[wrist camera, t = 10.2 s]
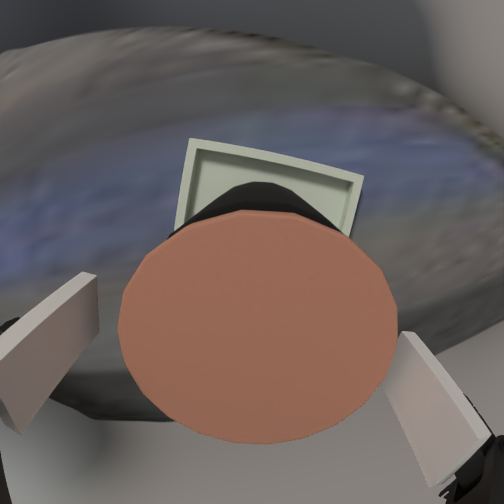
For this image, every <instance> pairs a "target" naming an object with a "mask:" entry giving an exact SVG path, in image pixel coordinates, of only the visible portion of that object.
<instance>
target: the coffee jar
mask: <svg viewBox="0 0 504 504" xmlns="http://www.w3.org/2000/svg"><path fill="white" fill-rule="evenodd" d="M118 334H119V339H120V344H121V349H122V353H123V358H124V362H125V365H126V366H127V368H128V370H129V372H130V373H131V375H132V377H133V378H134V380H135V382H136V383H137V385H138V386H139V388H140V390H141V391H142V393H143V394H144V395H145V396H146V397H147V398H148V399H149V400H150V401H152V402H153V403H154V404H155V405H156V406H157V407H158V408H159V409H160V410H161V411H162V412H164V413H165V414H166V415H167V416H168V417H170V418H172V419H173V420H175V421H177V422H179V423H181V424H183V425H184V426H187V427H188V428H190V429H192V430H194V431H196V432H198V433H200V434H204V435H207V436H211V437H214V438H218V439H222V440H226V441H229V442H235V443H251V444H272V443H279V442H285V441H291V440H296V439H301V438H305V437H308V436H310V435H313V434H315V433H318V432H320V431H322V430H325V429H327V428H330V427H332V426H334V425H336V424H337V423H339V422H340V421H342V420H343V419H345V418H346V417H347V416H349V415H350V414H351V413H353V412H354V411H355V410H357V409H358V408H359V407H361V406H362V405H363V404H364V403H365V402H366V401H367V400H368V398H369V397H370V396H371V395H372V393H373V392H374V391H375V390H376V388H377V387H378V386H379V384H380V383H381V382H382V381H383V379H384V378H385V376H386V374H387V371H388V369H389V366H390V363H391V361H392V358H393V355H394V352H395V349H396V347H397V305H396V302H395V300H394V298H393V295H392V293H391V290H390V288H389V286H388V284H387V281H386V279H385V277H384V275H383V272H382V270H381V268H380V267H379V266H378V265H377V264H376V263H375V262H374V261H373V260H372V259H371V258H370V257H369V256H368V255H367V254H366V253H365V252H364V251H363V250H361V249H360V248H359V247H358V246H357V245H356V244H355V243H354V242H353V241H352V240H351V239H350V238H349V237H348V236H347V235H345V234H344V233H343V232H341V231H340V230H339V229H338V228H337V227H336V226H335V225H334V224H333V223H332V222H330V221H329V220H328V219H327V218H326V217H325V216H323V215H322V214H321V213H320V212H318V211H317V210H316V209H315V208H313V207H312V206H311V205H310V204H308V203H307V202H306V201H305V200H303V199H302V198H301V197H300V196H298V195H297V194H296V193H294V192H293V191H292V190H290V189H288V188H285V187H283V186H280V185H278V184H275V183H272V182H256V181H253V182H249V183H245V184H241V185H238V186H234V187H233V188H231V189H230V190H228V191H227V192H225V193H224V194H222V195H221V196H219V197H218V198H216V199H215V200H214V201H212V202H211V203H210V204H208V205H207V206H206V207H205V208H203V209H202V210H201V211H199V212H198V213H197V214H195V215H194V216H193V217H192V218H190V219H189V220H188V221H187V222H185V223H184V224H183V225H181V226H180V227H179V228H178V229H176V230H175V231H174V232H173V233H171V234H170V235H169V237H168V238H167V240H166V241H165V242H163V243H162V244H160V245H159V246H158V247H156V248H155V249H154V250H152V251H151V252H149V253H148V254H147V255H146V256H145V258H144V259H143V261H142V262H141V264H140V266H139V267H138V269H137V270H136V272H135V273H134V275H133V277H132V278H131V280H130V281H129V283H128V285H127V286H126V288H125V289H124V293H123V298H122V304H121V310H120V316H119V322H118Z"/></svg>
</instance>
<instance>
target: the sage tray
mask: <svg viewBox="0 0 504 504" xmlns="http://www.w3.org/2000/svg"><path fill="white" fill-rule="evenodd" d="M363 178H364V176H362V175H359V174H355V173H352V172H348V171H345V170H341V169H338V168H334V167H330V166H327V165H323V164H319V163H315V162H311V161H307V160H303V159H299V158H295V157H290V156H286V155H282V154H277V153H272V152H268V151H263V150H258V149H253V148H248V147H242V146H237V145H231V144H225V143H219V142H213V141H207V140H200V139H193V138H189V143H188V148H187V154H186V159H185V164H184V170H183V176H182V181H181V187H180V194H179V200H178V207H177V213H176V220H175V228H174V231H175V230H176V229H178V228H179V227H180V226H181V225H183V224H184V223H185V222H187V221H188V220H189V219H190V218H192V217H193V216H194V215H195V214H197V213H198V212H199V211H201V210H202V209H203V208H205V207H206V206H207V205H208V204H210V203H211V202H212V201H214V200H215V199H216V198H218V197H219V196H221V195H222V194H224V193H225V192H227V191H228V190H230V189H231V188H233V187H234V186H238V185H241V184H245V183H249V182H253V181H256V182H272V183H275V184H278V185H280V186H283V187H285V188H288V189H290V190H292V191H293V192H294V193H296V194H297V195H298V196H300V197H301V198H302V199H303V200H305V201H306V202H307V203H308V204H310V205H311V206H312V207H313V208H315V209H316V210H317V211H318V212H320V213H321V214H322V215H323V216H325V217H326V218H327V219H328V220H329V221H330V222H332V223H333V224H334V225H335V226H336V227H337V228H338V229H339V230H340V231H341V232H343V233H344V234H345V235H347V236H348V237H349V234H350V231H351V227H352V223H353V219H354V216H355V212H356V208H357V204H358V200H359V196H360V191H361V187H362V183H363Z"/></svg>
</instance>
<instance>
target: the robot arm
mask: <svg viewBox="0 0 504 504" xmlns="http://www.w3.org/2000/svg"><path fill="white" fill-rule="evenodd" d="M98 332H99V316H98V293H97V275H93V274H89V273H86V272H81V273H80V274H78V275H77V276H75V277H74V278H73V279H71V280H70V281H69V282H67V283H66V284H64V285H63V286H62V287H60V288H59V289H58V290H56V291H55V292H54V293H52V294H51V295H50V296H48V297H47V298H46V299H45V300H43V301H42V302H41V303H39V304H38V305H37V306H36V307H34V308H33V309H32V310H31V311H29V312H28V313H27V314H26V315H24V316H23V317H22V318H19V317H17V318H14V319H12V320H9V321H7V322H6V323H4V324H3V325H2V326H1V327H0V417H1V419H2V421H3V422H4V424H5V425H6V426H8V427H9V428H11V429H12V430H14V431H15V432H17V433H18V434H20V435H22V434H23V432H24V430H25V429H26V428H27V426H28V425H29V423H30V422H31V421H32V419H33V418H34V416H35V415H36V413H37V412H38V411H39V409H40V408H41V406H42V405H43V403H44V402H45V401H46V399H47V398H48V397H49V395H50V394H51V393H52V391H53V390H54V389H55V387H56V386H57V385H58V383H59V382H60V381H61V379H62V378H63V377H64V375H65V374H66V373H67V371H68V370H69V369H70V367H71V366H72V365H73V364H74V362H75V361H76V360H77V359H78V357H79V356H80V355H81V353H82V352H83V351H84V350H85V348H86V347H87V346H88V345H89V344H90V342H91V341H92V340H93V339H94V337H95V336H96V335H97V334H98ZM381 385H382V387H383V389H384V391H385V393H386V395H387V397H388V399H389V401H390V403H391V405H392V407H393V409H394V411H395V413H396V415H397V418H398V420H399V422H400V424H401V426H402V428H403V430H404V432H405V435H406V437H407V439H408V441H409V443H410V445H411V448H412V449H413V452H414V454H415V456H416V459H417V461H418V463H419V465H420V467H421V470H422V472H423V475H424V477H425V479H426V482H427V484H428V486H429V488H431V487H434V486H437V485H440V484H443V483H444V482H446V481H447V480H448V479H449V478H450V477H451V476H452V475H453V474H455V476H456V479H455V480H454V481H453V482H452V483H451V484H450V485H448V486H447V487H446V488H445V489H444V490H443V491H441V492H440V494H439V496H440V497H441V496H442V495H443V494H444V493H446V492H447V491H449V493H448V494H447V495H445V496H444V498H445V499H447V500H446V504H504V435H500V436H497V437H495V435H494V434H493V433H492V431H491V429H490V428H489V427H488V425H487V424H486V422H485V421H484V419H483V418H482V416H481V415H480V414H479V413H478V411H477V409H476V408H475V407H473V404H472V403H471V401H470V400H469V398H468V397H467V396H466V395H465V394H464V393H462V392H461V390H460V389H459V388H458V386H457V385H456V384H455V383H454V381H453V380H452V379H451V377H450V376H449V375H448V373H447V372H446V371H445V369H444V368H443V367H442V366H441V364H440V363H439V362H438V360H436V358H435V357H434V355H433V354H432V353H431V352H430V351H429V349H428V348H427V347H426V346H425V344H424V343H423V342H422V341H421V340H420V338H419V337H418V336H417V335H416V334H415V332H406V331H402V332H401V334H400V336H399V338H398V340H397V347H396V349H395V352H394V355H393V358H392V361H391V363H390V366H389V369H388V371H387V374H386V376H385V378H384V379H383V381H382V382H381ZM0 504H12V502H11V498H10V495H9V491H8V487H7V483H6V479H5V474H4V470H3V465H2V459H1V453H0Z"/></svg>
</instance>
